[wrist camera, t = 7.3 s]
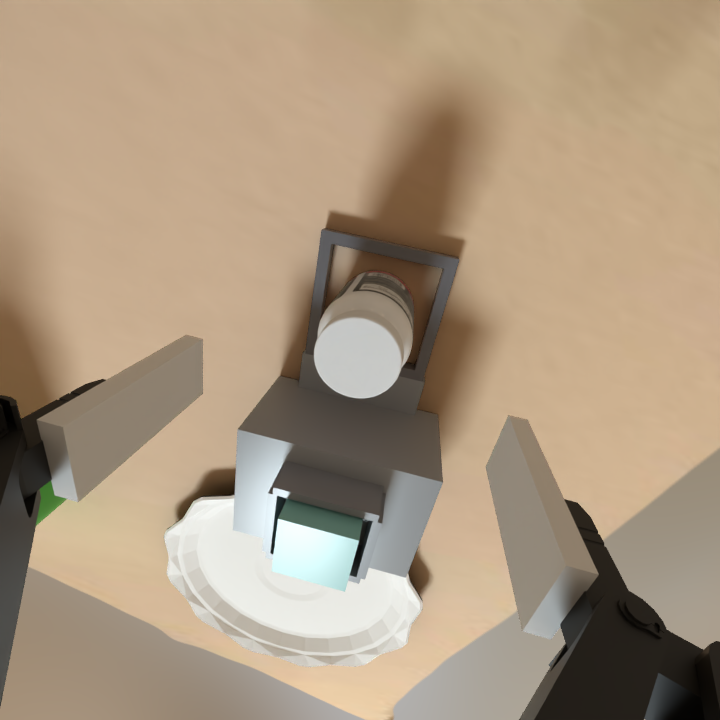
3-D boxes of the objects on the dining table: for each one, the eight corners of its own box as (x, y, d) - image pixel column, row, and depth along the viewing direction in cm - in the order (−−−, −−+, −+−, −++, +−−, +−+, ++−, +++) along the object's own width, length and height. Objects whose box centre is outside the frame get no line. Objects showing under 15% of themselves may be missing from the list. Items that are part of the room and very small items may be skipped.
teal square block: (293, 482, 24) (277, 518, 22) (366, 501, 24) (359, 540, 21) (286, 532, 27) (271, 571, 24) (352, 551, 26) (344, 591, 24)
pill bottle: (359, 351, 29) (332, 420, 20) (327, 288, 28) (282, 332, 19) (426, 325, 28) (428, 388, 19) (396, 255, 26) (383, 287, 17)
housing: (295, 221, 26) (223, 237, 16) (489, 264, 25) (530, 306, 16) (270, 462, 36) (216, 558, 26) (409, 499, 35) (404, 611, 26)
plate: (452, 518, 36) (454, 539, 33) (387, 670, 48) (385, 692, 46) (172, 444, 37) (156, 459, 35) (180, 609, 50) (169, 628, 48)
